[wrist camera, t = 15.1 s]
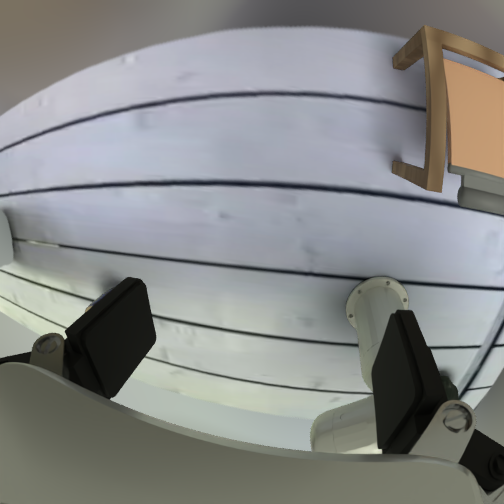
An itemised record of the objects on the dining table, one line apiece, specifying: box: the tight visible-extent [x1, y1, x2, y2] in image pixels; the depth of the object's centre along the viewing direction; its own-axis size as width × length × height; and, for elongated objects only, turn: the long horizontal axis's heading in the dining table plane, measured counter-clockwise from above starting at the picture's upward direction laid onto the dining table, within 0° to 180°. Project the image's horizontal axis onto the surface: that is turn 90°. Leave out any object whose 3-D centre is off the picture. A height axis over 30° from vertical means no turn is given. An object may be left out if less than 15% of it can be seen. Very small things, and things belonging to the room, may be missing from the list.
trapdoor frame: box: [392, 25, 504, 193], centre depth 27 cm, size 20×20×16 cm
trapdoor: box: [443, 58, 504, 215], centre depth 22 cm, size 14×18×2 cm
